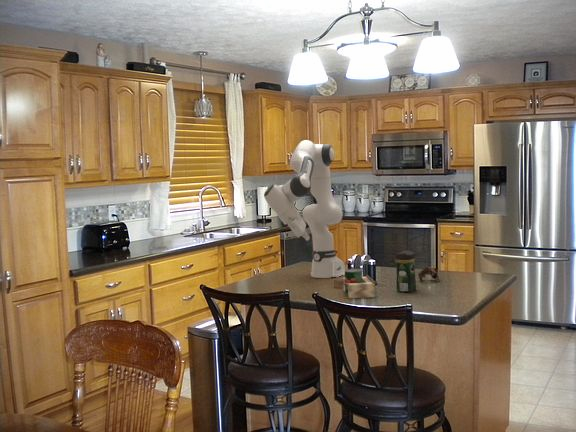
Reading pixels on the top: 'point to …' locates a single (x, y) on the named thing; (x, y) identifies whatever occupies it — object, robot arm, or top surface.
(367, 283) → the holder
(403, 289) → the coffee jar
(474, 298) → the top surface
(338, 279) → the walnut block
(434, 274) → the brown arched piece
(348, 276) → the canned tomato
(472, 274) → the top surface
